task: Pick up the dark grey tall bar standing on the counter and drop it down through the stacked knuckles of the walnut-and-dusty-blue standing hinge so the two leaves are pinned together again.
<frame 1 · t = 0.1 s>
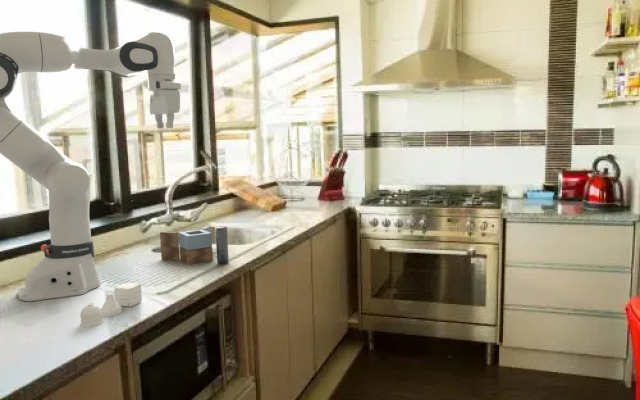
hand: (165, 128, 170), 48 cm above the worktop, fingers open, 8 cm apart
dark grey tall bar: (222, 263, 185), on the worktop
container set: (111, 314, 137), on the worktop
hinge frame: (196, 260, 190), on the worktop
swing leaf: (199, 243, 193), point 5 cm above the worktop, hinge at 0.0°
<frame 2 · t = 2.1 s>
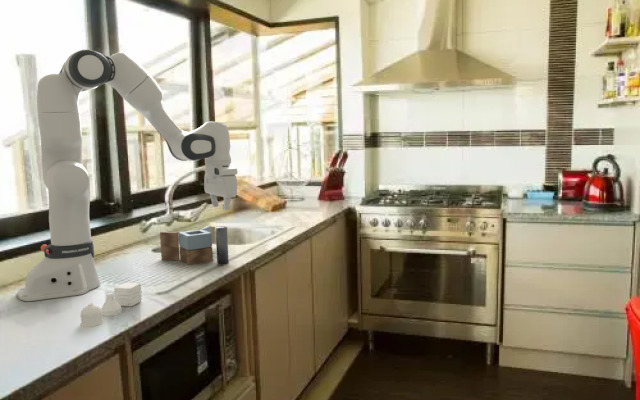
hand: (220, 208, 182), 20 cm above the worktop, fingers open, 8 cm apart
nothing on the worktop moved.
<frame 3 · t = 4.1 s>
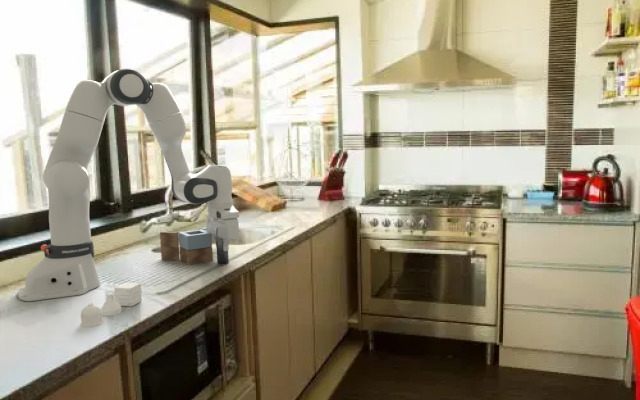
hand: (222, 249, 184), 5 cm above the worktop, fingers closed on dark grey tall bar, 4 cm apart
dark grey tall bar: (223, 263, 185), on the worktop, touching gripper
everything else where it was.
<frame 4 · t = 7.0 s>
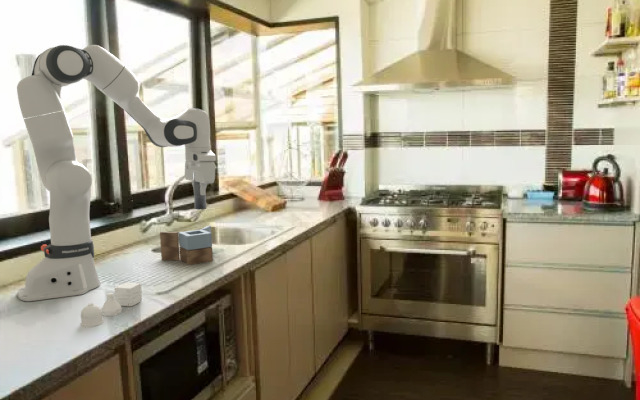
hand: (199, 194, 185), 24 cm above the worktop, fingers closed on dark grey tall bar, 4 cm apart
dark grey tall bar: (200, 208, 186), point 19 cm above the worktop, touching gripper
everything else where it was.
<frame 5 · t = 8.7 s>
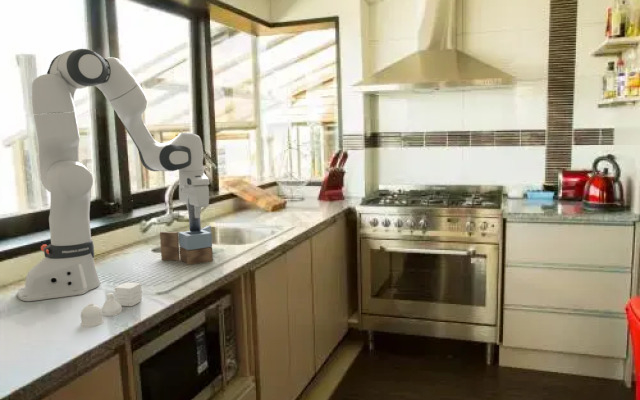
hand: (194, 216, 188), 16 cm above the worktop, fingers closed on dark grey tall bar, 4 cm apart
dark grey tall bar: (195, 230, 188), point 11 cm above the worktop, touching gripper
everything else where it was.
when the fingers open (12 cm above the worktop, at t = 10.0 s): dark grey tall bar drops 6 cm, resting in hinge frame.
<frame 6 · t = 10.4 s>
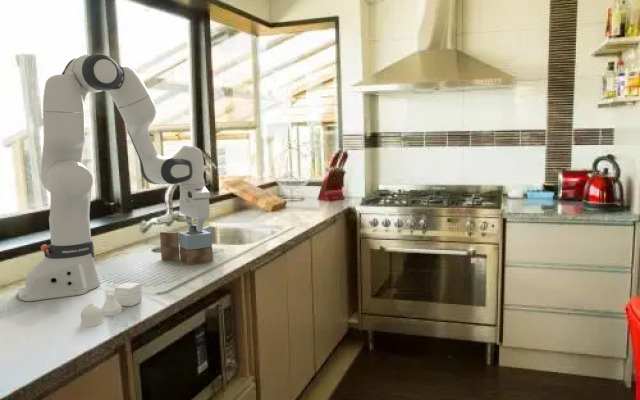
hand: (194, 229, 188), 12 cm above the worktop, fingers open, 8 cm apart
dark grey tall bar: (196, 260, 190), resting in hinge frame
everything else where it was.
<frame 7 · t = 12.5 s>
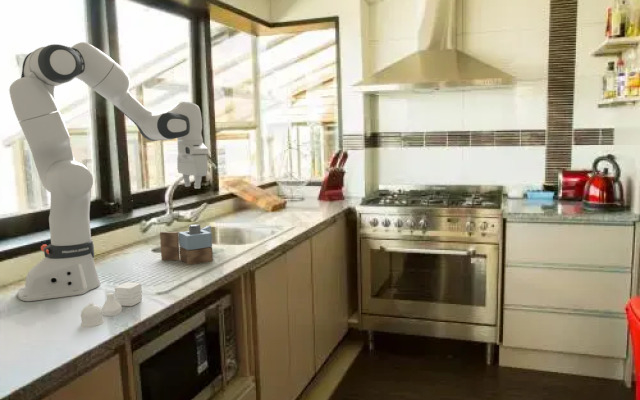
hand: (192, 187, 186), 27 cm above the worktop, fingers open, 8 cm apart
nothing on the worktop moved.
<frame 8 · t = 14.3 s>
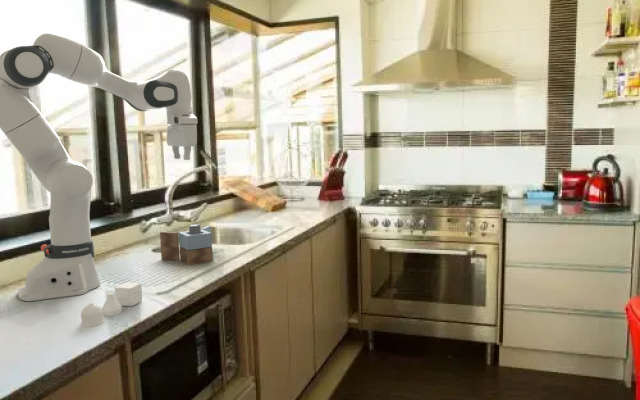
hand: (182, 159, 181), 37 cm above the worktop, fingers open, 8 cm apart
nothing on the worktop moved.
at the end: dark grey tall bar 0.1 cm off-centre on the hinge frame, point 0.0 cm above the hinge frame's base; dark grey tall bar tilted 0°; the gripper is holding nothing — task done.
